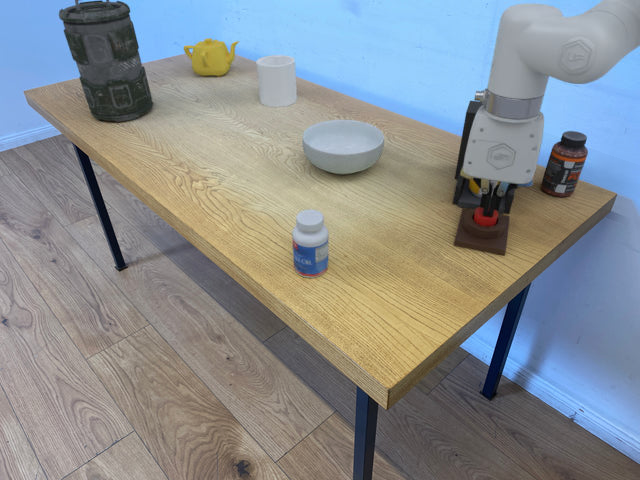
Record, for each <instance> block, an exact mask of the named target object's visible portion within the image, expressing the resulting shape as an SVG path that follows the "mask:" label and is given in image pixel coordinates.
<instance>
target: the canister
mask: <svg viewBox="0 0 640 480" xmlns="http://www.w3.org/2000/svg"><path fill="white" fill-rule="evenodd" d="M79 1H80V0H74V3H75V5H71V6H67V7H64V9H63V8H61V9H59V11H58V17H59V20H61V21H62V23H63V24H62V25H63V28H64V29H63V33H64V37H65V40H66V42H67V46H68V48H69V51H70V55H71V58H72V60H73V61H74V62H75V64H76V68H77V70H78V73H79V80H80V84H81V88H82V90H83V93H84V97H85V99H86V102H87V105H88V108H89V110H90V114H91V116H92V117H93V118H94V119H95V120H98V121H100V122H103V121H110V122H115V123H123V122H128V121H133V120H136V119H139V117H140V116H143V115H144V114H146V113H147V112H148V111H150V110H151V109H152V108H153V105H154V103H153V97H152V92H151V88H150V85H149V81H148V77H147V73H146V68H145V66H143V63H142V59H141V55H140V51H139V49H140V46H139V42H138V39H137V33H136V30H135V26H134V22H133V21H132V19H131V15H130V13H131V8H130V6H129V5H128V3H126V2H124V1H121V0H116V1H110V0H105V1H103V0H93V1H92V0H89V1H82V2H79Z"/></svg>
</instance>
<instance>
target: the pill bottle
mask: <svg viewBox="0 0 640 480" xmlns="http://www.w3.org/2000/svg"><path fill="white" fill-rule="evenodd" d="M291 239H292V240H291V242H292V255H293V256H292V257H293V268H294V271H295V273H296V274H298V275H299V276H300V277H303V278H307V279H314V278H319V277H321V276H323V275H324V274H325V273H326V272H327V271H328V269H329V249H330V248H329V247H330V246H329V245H330V244H329V240H330V239H329V230H328V227H327V226H326V225H325V216H324V214H323V213H322V212H321V211H319V210H317V209H309V208H308V209H304V210H301V211H299V212H298V213H297V214H296V217H295V226H294V227H293V228H292V232H291Z"/></svg>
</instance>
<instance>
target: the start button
mask: <svg viewBox="0 0 640 480" xmlns="http://www.w3.org/2000/svg"><path fill="white" fill-rule="evenodd" d="M483 209H484V208H480V207H478V208H477V209H476V210H475V215H474V222H475V223H477V224H479V225H482V226H487V227H488V226H494V225H495V224H496V221H497V217H498V212H497V211H496V210H494V213H493V217H489V216H488V213H489V209H488V213H487V215H486V216H483Z"/></svg>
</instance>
